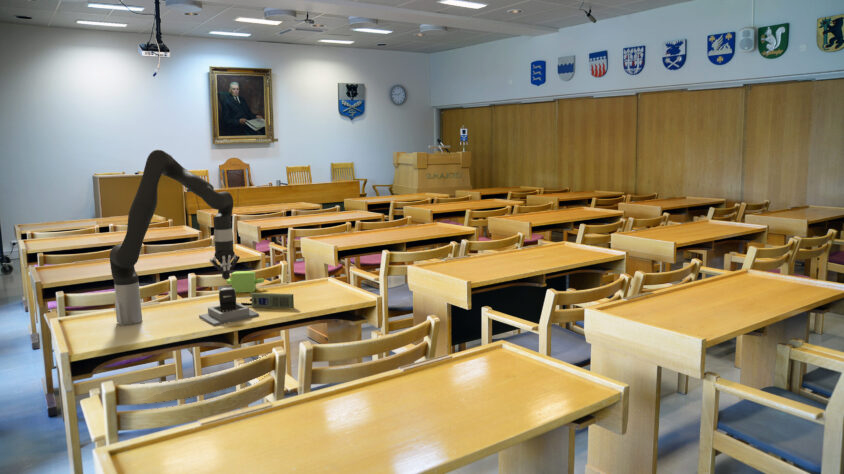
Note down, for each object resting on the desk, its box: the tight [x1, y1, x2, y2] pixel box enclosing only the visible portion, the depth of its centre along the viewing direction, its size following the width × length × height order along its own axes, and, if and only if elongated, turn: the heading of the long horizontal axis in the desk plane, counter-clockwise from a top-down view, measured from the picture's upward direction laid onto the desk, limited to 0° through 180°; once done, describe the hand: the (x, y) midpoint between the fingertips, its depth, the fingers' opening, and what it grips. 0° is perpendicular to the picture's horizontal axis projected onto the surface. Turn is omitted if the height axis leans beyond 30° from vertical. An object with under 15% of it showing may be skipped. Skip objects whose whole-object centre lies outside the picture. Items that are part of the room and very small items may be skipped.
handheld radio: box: [240, 292, 295, 309], centre depth 284 cm, size 7×3×25 cm
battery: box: [218, 287, 237, 313], centre depth 270 cm, size 7×4×11 cm, turn 105°
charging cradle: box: [198, 301, 260, 327], centre depth 270 cm, size 20×16×4 cm
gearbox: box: [226, 270, 265, 293], centre depth 314 cm, size 18×10×10 cm, turn 97°
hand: (226, 279), depth 267 cm, fingers closed
